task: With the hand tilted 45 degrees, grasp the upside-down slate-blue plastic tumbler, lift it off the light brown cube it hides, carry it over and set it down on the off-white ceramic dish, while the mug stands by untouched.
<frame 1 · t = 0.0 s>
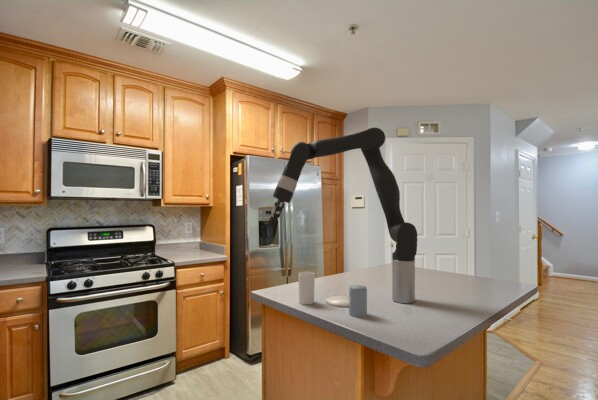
hand: (270, 226, 130), 31 cm above the countertop, tool tilted 20°, fingers open, 8 cm apart
tumbler: (357, 314, 120), on the countertop
light brown cube: (357, 309, 120), in the tumbler
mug: (305, 301, 136), on the countertop
dish: (341, 302, 135), on the countertop
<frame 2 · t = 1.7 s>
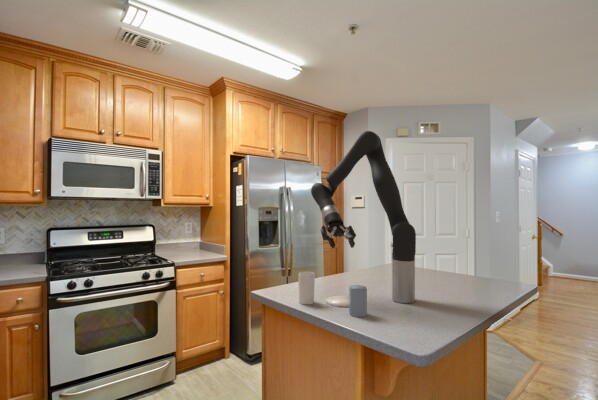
hand: (343, 246, 131), 23 cm above the countertop, tool tilted 45°, fingers open, 8 cm apart
nothing on the countertop moved.
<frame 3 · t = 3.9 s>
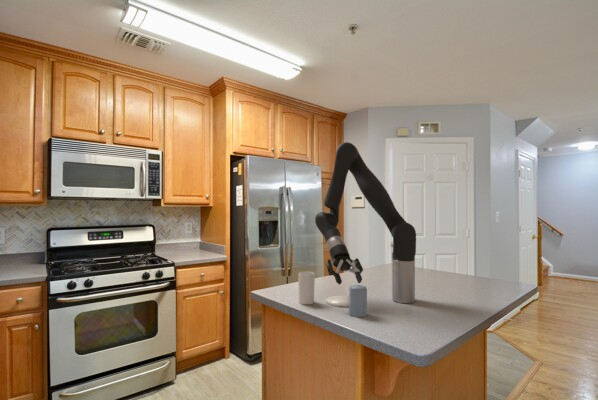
hand: (350, 282, 125), 10 cm above the countertop, tool tilted 45°, fingers open, 8 cm apart
nothing on the countertop moved.
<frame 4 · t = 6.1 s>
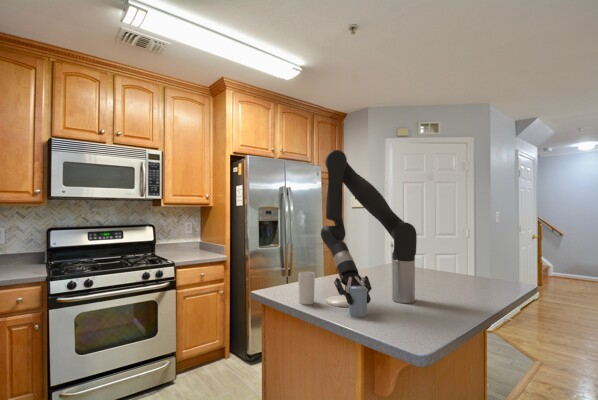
hand: (360, 302, 118), 5 cm above the countertop, tool tilted 45°, fingers closed on tumbler, 6 cm apart
tumbler: (357, 314, 119), on the countertop, touching gripper
everything else where it was.
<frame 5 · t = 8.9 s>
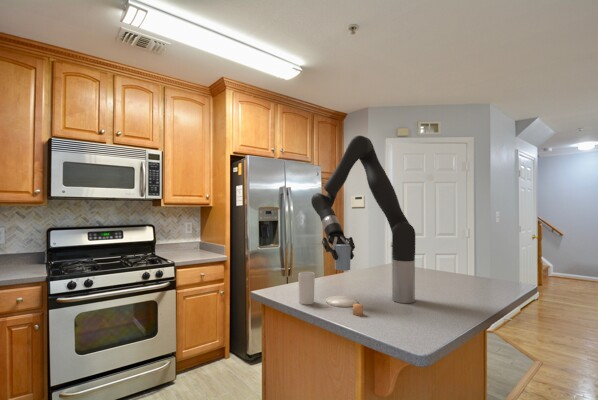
hand: (344, 258, 133), 18 cm above the countertop, tool tilted 45°, fingers closed on tumbler, 6 cm apart
tumbler: (342, 269, 134), point 14 cm above the countertop, touching gripper
everything else where it was.
when the fingers open (6 cm above the countertop, at t = 11.9 s): tumbler stays where it is, resting on dish.
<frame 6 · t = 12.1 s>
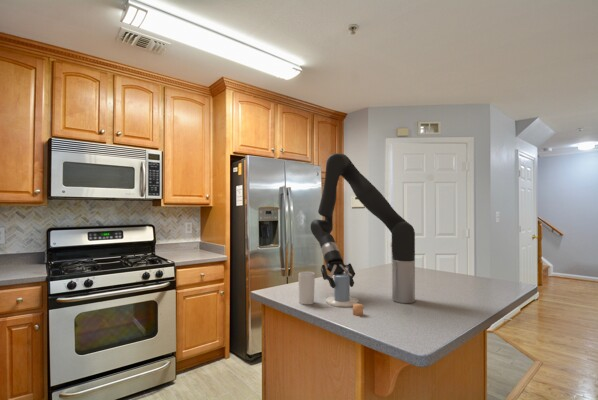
hand: (343, 286, 134), 7 cm above the countertop, tool tilted 45°, fingers open, 8 cm apart
tumbler: (341, 299, 135), point 1 cm above the countertop, touching dish
everything else where it was.
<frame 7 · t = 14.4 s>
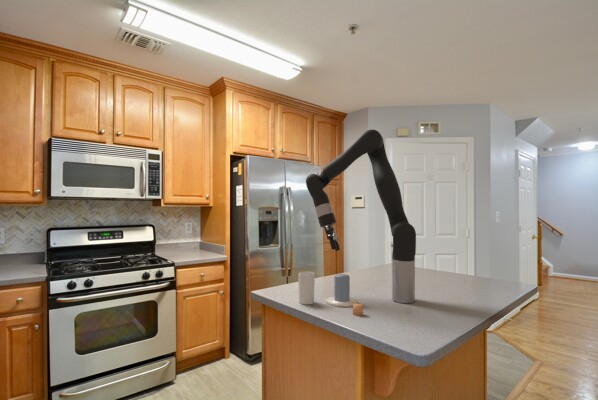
hand: (336, 249, 143), 21 cm above the countertop, tool tilted 20°, fingers open, 8 cm apart
nothing on the countertop moved.
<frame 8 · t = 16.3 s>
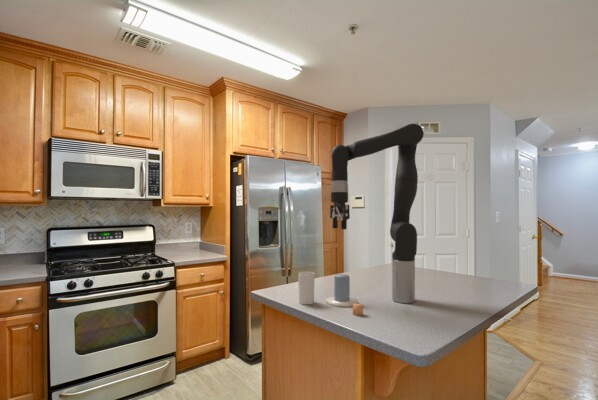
hand: (339, 228, 141), 30 cm above the countertop, tool pointing down, fingers open, 8 cm apart
nothing on the countertop moved.
at the end: tumbler inside the target area on the dish (0.1 cm from its centre), point 1.0 cm above the dish's base; tumbler tilted 0°; the gripper is holding nothing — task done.
